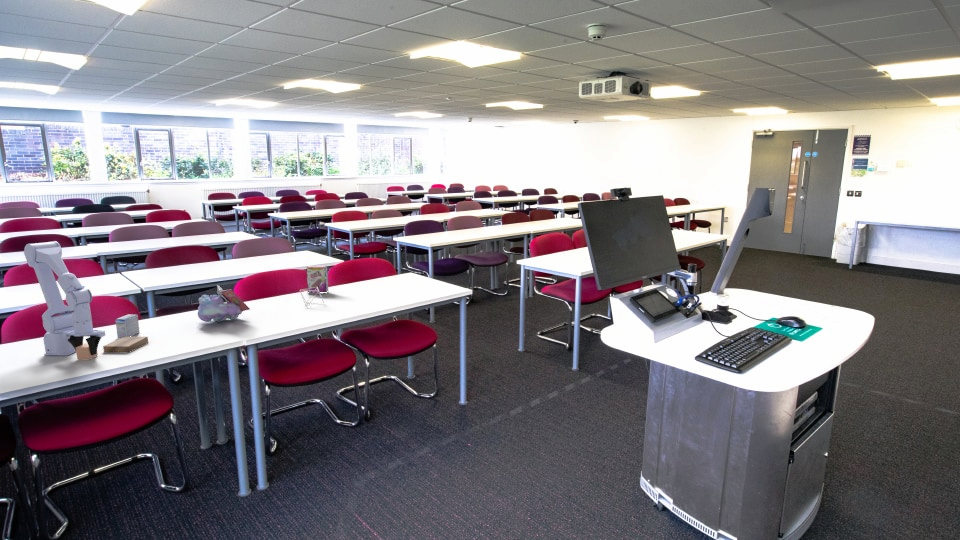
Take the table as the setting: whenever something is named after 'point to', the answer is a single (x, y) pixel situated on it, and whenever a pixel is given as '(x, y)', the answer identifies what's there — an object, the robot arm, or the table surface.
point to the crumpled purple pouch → (221, 306)
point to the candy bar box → (317, 278)
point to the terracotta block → (84, 352)
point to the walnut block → (125, 344)
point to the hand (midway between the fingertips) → (87, 354)
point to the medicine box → (127, 325)
